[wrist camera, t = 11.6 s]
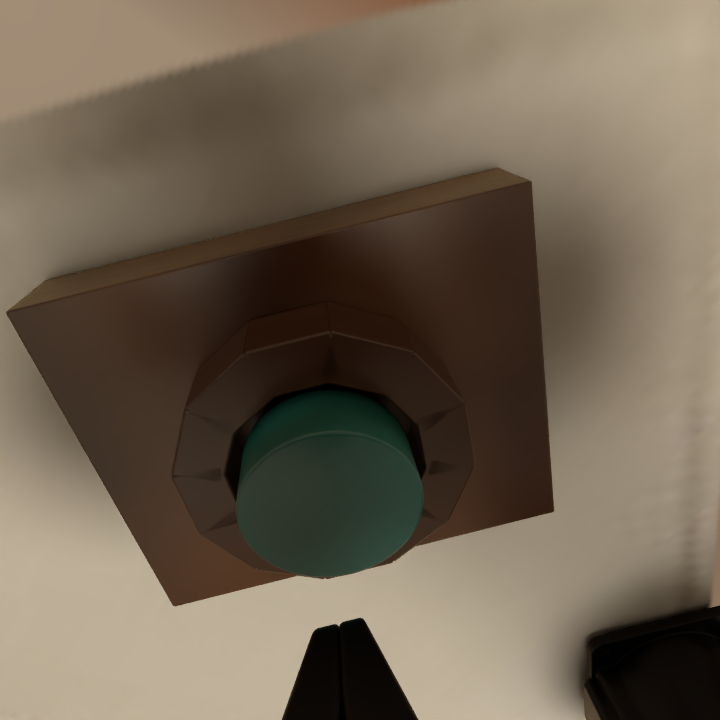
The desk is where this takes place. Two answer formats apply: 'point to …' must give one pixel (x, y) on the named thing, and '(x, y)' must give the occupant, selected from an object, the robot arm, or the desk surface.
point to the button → (328, 485)
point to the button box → (307, 364)
